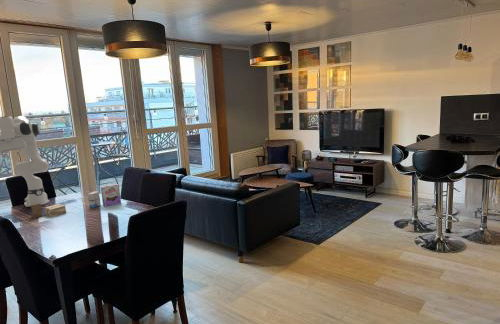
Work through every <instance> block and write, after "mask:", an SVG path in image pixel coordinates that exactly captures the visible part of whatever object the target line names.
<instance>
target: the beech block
mask: <svg viewBox="0 0 500 324" xmlns="http://www.w3.org/2000/svg"><path fill="white" fill-rule="evenodd" d="M44 212H45V215H46V216H49V217H55V216H60V215H62V214H66V213H67V210H66V205H64V204H60V203H57V204H54V205H49V206H46V207H44Z"/></svg>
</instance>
